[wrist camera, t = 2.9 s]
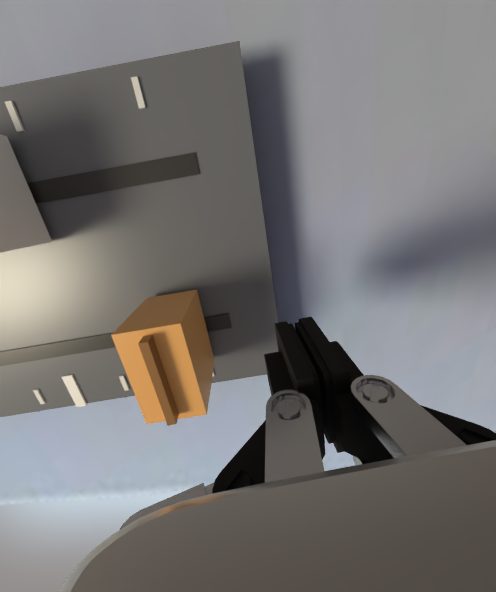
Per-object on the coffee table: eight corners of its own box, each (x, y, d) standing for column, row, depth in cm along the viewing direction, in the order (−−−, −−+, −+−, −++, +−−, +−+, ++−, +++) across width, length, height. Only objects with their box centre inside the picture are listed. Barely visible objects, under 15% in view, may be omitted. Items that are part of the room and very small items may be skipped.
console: (239, 67, 14) (239, 39, 11) (280, 353, 20) (285, 373, 18) (-150, 141, 14) (-227, 129, 12) (9, 397, 20) (-22, 422, 18)
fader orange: (196, 289, 15) (177, 330, 10) (214, 360, 17) (205, 424, 12) (147, 297, 15) (104, 342, 10) (169, 368, 17) (142, 434, 12)
